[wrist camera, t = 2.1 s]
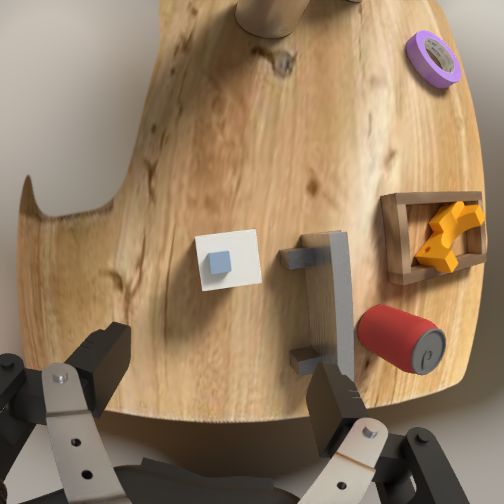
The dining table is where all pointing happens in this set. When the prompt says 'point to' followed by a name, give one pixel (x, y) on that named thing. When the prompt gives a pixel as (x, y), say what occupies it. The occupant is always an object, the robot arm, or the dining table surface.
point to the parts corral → (399, 236)
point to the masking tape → (425, 63)
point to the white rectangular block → (228, 259)
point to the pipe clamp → (448, 234)
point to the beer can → (402, 339)
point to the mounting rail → (325, 301)
